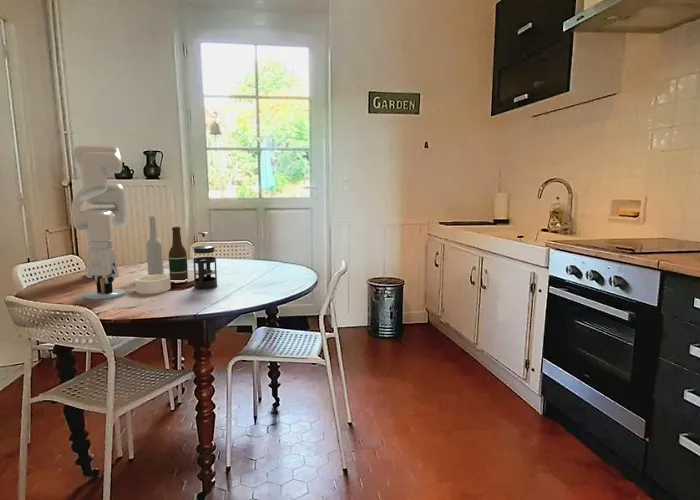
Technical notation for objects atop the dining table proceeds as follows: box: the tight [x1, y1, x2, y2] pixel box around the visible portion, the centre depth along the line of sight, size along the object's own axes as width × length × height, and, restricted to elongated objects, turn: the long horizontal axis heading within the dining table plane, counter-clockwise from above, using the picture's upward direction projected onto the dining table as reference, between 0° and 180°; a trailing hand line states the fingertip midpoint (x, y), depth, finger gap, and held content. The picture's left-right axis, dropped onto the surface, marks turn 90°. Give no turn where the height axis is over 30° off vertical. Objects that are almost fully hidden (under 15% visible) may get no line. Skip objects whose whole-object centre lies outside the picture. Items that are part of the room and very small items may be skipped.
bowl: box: [134, 274, 172, 295], centre depth 180 cm, size 12×12×6 cm
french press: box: [192, 231, 219, 290], centre depth 186 cm, size 12×9×23 cm
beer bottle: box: [168, 226, 189, 280], centre depth 196 cm, size 8×8×24 cm
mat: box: [71, 290, 137, 303], centre depth 172 cm, size 16×16×1 cm
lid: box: [84, 277, 126, 300], centre depth 172 cm, size 14×14×7 cm
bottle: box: [145, 215, 165, 275], centre depth 203 cm, size 7×7×28 cm
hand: (105, 292), depth 172 cm, fingers closed on lid, 2 cm apart
